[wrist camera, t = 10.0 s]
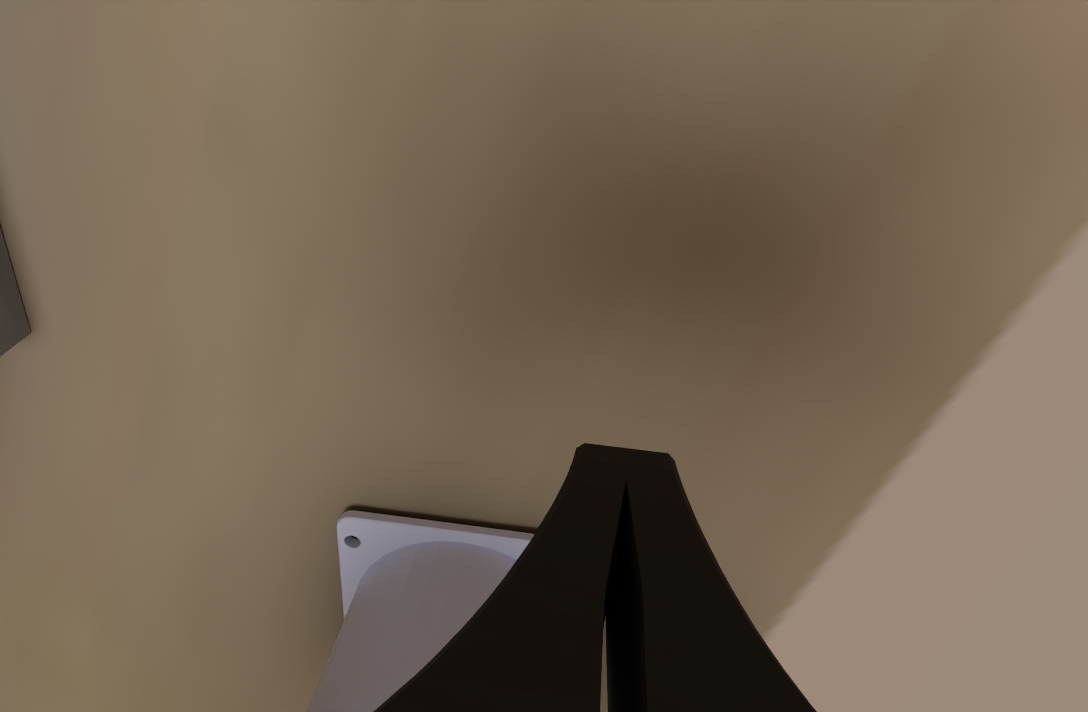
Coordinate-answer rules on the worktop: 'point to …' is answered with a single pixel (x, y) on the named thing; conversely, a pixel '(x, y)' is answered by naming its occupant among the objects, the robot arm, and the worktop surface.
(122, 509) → the worktop surface
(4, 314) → the tray
